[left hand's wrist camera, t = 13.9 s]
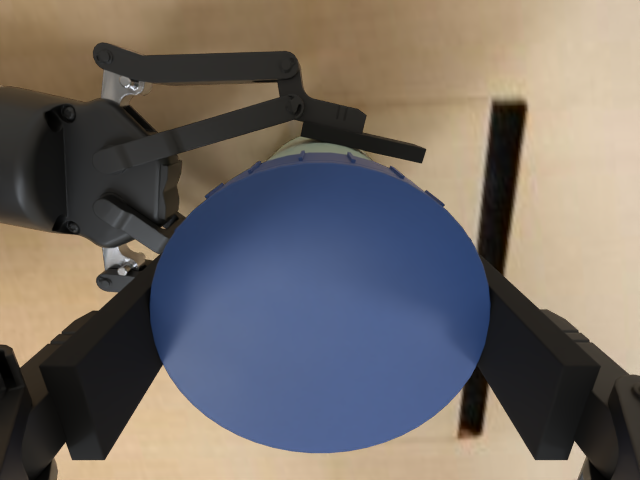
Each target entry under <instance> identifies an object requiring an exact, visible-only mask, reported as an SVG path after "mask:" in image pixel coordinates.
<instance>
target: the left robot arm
mask: <svg viewBox="0 0 640 480" xmlns="http://www.w3.org/2000/svg"><path fill="white" fill-rule="evenodd" d="M162 253H163V252H162ZM162 253H161V254H160V255H159V256H158V257H157V258H156V259H154V260H153V261H152V262H151V263H150V264H149V265H148V266H147V267H146V268H145V269H144V270H143V271H141V272H140V273H139V274H138V275H137V276H136V277H135V278H134V279H133V280H132V281H131V282H129V283H128V284H127V285H126V286H125V287H124V288H123V289H122V290H121V291H120V292H119V293H118V294H116V295H115V296H114V297H113V298H112V299H111V300H110V301H109V302H108V303H107V304H106V305H105V306H103V307H102V308H101V309H100V310H99V311H91V312H90V313H88V314H86V315H84V316H82V317H80V318H78V319H77V320H75V321H74V322H72V323H71V324H70V325H69V326H68V327H67V328H66V329H64V330H63V331H62V334H59V335H58V336H56V337H55V338H54V339H53V340H52V341H51V343H50V344H47V345H46V346H45V347H44V348H43V349H41V350H40V351H39V352H38V353H37V354H36V355H35V356H33V357H32V358H31V359H30V360H29V361H28V362H26V363H25V364H24V365H23V366H22V367H21V368H20V367H19V365H18V362H17V359H16V357H15V354H14V351H13V349H12V348H11V347H9V346H7V345H0V480H57V474H58V470H57V464H56V461H55V459H54V457H55V455H56V454H57V453H58V451H59V450H60V449H61V447H62V446H63V445H64V444H65V442H66V444H67V447H68V450H69V452H70V455H71V458H72V460H105V459H106V457H107V455H108V454H109V452H110V450H111V449H112V447H113V445H114V444H115V442H116V441H117V439H118V437H119V436H120V434H121V432H122V431H123V429H124V427H125V426H126V424H127V423H128V421H129V419H130V418H131V416H132V414H133V413H134V411H135V409H136V408H137V406H138V404H139V403H140V401H141V400H142V398H143V396H144V395H145V393H146V391H147V390H148V388H149V386H150V385H151V383H152V382H153V380H154V378H155V377H156V375H157V373H158V372H159V370H160V368H161V367H162V365H163V363H162V361H161V359H160V357H159V354H158V351H157V348H156V346H155V342H154V337H153V332H152V327H151V322H150V295H151V286H152V281H153V278H154V274H155V270H156V266H157V264H158V261H159V259H160V257H161V255H162ZM477 253H478V252H477ZM478 255H479V257H480V259H481V261H482V264H483V267H484V270H485V274H486V278H487V281H488V286H489V295H490V321H489V327H488V332H487V336H486V341H485V346H484V348H483V351H482V354H481V357H480V359H479V361H478V363H477V366H478V367H479V369H480V370H481V372H482V374H483V375H484V377H485V379H486V380H487V382H488V384H489V385H490V387H491V388H492V390H493V392H494V393H495V395H496V397H497V398H498V400H499V402H500V403H501V405H502V406H503V408H504V410H505V411H506V413H507V415H508V416H509V418H510V420H511V421H512V423H513V425H514V426H515V428H516V429H517V431H518V433H519V434H520V436H521V438H522V439H523V441H524V443H525V444H526V446H527V447H528V449H529V451H530V452H531V454H532V456H533V457H534V459H535V460H568V457H569V454H570V452H571V449H572V446H573V443H574V441H575V442H576V443H577V445H578V446H579V447H580V448H581V450H582V451H583V452H584V454H585V455H586V459H585V461H584V464H583V467H582V469H581V472H580V474H579V477H578V480H640V376H638V375H629V374H628V373H627V372H626V371H625V370H623V369H622V368H621V367H620V366H619V365H618V364H617V363H615V362H614V361H613V360H612V359H611V358H610V357H608V356H607V355H606V354H605V353H604V352H603V351H601V350H600V349H599V348H598V347H597V346H596V345H595V344H593V343H590V342H589V339H588V338H586V337H585V336H584V335H583V334H582V333H579V332H578V330H577V329H576V328H575V327H574V326H573V325H571V324H570V323H569V322H568V321H567V320H566V319H564V318H562V317H560V316H558V315H556V314H555V313H553V312H551V311H549V310H540V309H539V308H537V307H536V306H535V305H534V304H533V303H532V302H531V301H530V300H529V299H528V298H527V297H525V296H524V295H523V294H522V293H521V292H520V291H519V290H518V289H517V288H516V287H515V286H514V285H512V284H511V283H510V282H509V281H508V280H507V279H506V278H505V277H504V276H503V275H502V274H500V273H499V272H498V271H497V270H496V269H495V268H494V267H493V266H492V265H491V264H490V263H489V262H487V261H486V260H485V259H484V258H483V257H482V256H481V255H480V254H479V253H478Z"/></svg>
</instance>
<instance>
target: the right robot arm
mask: <svg viewBox="0 0 640 480" xmlns="http://www.w3.org/2000/svg"><path fill="white" fill-rule="evenodd" d="M93 58H94V60H95V62H96V64H97V65H98V66H99V67H100V68H102V69H104V73H103V83H102V93H101V98H99V99H95V100H92V101H89V102H82V101H77V100H73V99H68V98H64V97H59V96H54V95H50V94H45V93H41V92H36V91H32V90H27V89H23V88H18V87H5V86H3V85H0V223H4V224H9V225H14V226H19V227H25V228H30V229H35V230H40V231H46V232H51V233H60V234H74V235H80V236H82V237H85V238H87V239H89V240H90V241H92V242H93V243H95V244H96V245H98V246H100V247H102V250H103V258H104V266H105V271H104V272H103V273H101V274H100V275H99V276H98V277H97V278H96V283H97V285H98V286H99V288H100V289H102V290H104V291H109V292H120V291H121V290H122V289H123V288H124V287H125V286H126V285H127V284H128V283H129V282H131V281H132V280H133V279H134V278H135V277H136V276H137V275H138V274H139V273H140V272H141V271H143V270H144V269H145V268H146V267H147V266H148V265H149V264H150V263H151V262H152V260H146V259H145V255H144V254H143V253H141V252H139V253H136V252H133V251H131V250H130V249H129V248H128V246H127V244H126V243H128V242H130V241H132V240H135V239H136V240H137V241H139V242H140V243H142V244H143V245H145V246H146V247H148V248H149V249H151V250H152V251H154V252H156V253H158V254H161V253H162V252H163V250H164V248H165V246H166V244H167V243H168V241H169V240H170V238H171V237H172V235H173V234H174V232H175V231H174V230H175V229H176V228H177V227H178V226H179V225H180V224H181V223H182V222H183V221H184V220H185V219H186V217H184V216H183V215H181V214H180V213H179V212H177V211H178V209H179V195H178V190H177V183H178V180H179V178H180V175H181V167H182V161H181V160H178V156H177V154H179V153H182V152H185V151H189V150H192V149H195V148H199V147H202V146H206V145H209V144H213V143H216V142H219V141H223V140H226V139H230V138H233V137H237V136H240V135H243V134H247V133H250V132H254V131H257V130H260V129H264V128H267V127H271V126H274V125H278V124H281V123H284V122H288V121H291V120H298V121H302V122H303V127H302V132H301V137H305V138H309V139H314V140H318V141H323V142H327V143H332V144H337V145H341V146H345V147H350V148H354V149H359V150H363V151H368V152H372V153H377V154H381V155H386V156H391V157H395V158H400V159H404V160H409V161H413V162H418V163H422V161H423V158H424V155H425V152H426V149H425V148H422V147H420V146H417V145H414V144H411V143H407V142H402V141H398V140H393V139H389V138H384V137H380V136H375V135H371V134H367V133H362V132H363V128H364V124H365V120H366V115H365V114H364V113H363V112H361V111H360V110H359V109H356V108H351V107H347V106H343V105H338V104H334V103H330V102H325V101H321V100H317V99H313V98H310V97H309V96H308V95H307V94H306V93H305V91H304V88H303V82H302V75H301V67H300V64H299V62H298V60H297V58H296V57H295V55H294V54H292V53H291V52H287V51H275V52H243V53H211V54H179V55H147V56H146V55H143V54H140V53H137V52H134V51H131V50H128V49H125V48H122V47H118V46H115V45H112V44H108V43H99V44H97V45H96V46H95V47H94V50H93ZM153 83H155V84H162V85H173V86H180V85H213V84H246V83H278V88H279V94H280V97H279V98H276V99H272V100H269V101H266V102H262V103H259V104H256V105H252V106H249V107H246V108H242V109H239V110H236V111H232V112H229V113H226V114H222V115H219V116H216V117H212V118H209V119H206V120H202V121H199V122H195V123H192V124H189V125H185V126H182V127H179V128H175V129H172V130H167V131H164V132H160V133H158V132H157V131H156V130H155V129H154V128H153V127H152V126H151V125H150V124H149V123H148V122H147V121H146V120H145V119H144V118H143V117H142V116H141V115H140V114H139V113H138V112H136V111H135V110H134V109H133V108H132V107H131V106H130V105H129V102H130V100H131V98H132V97H134V96H136V95H147V94H149V93H150V91H151V89H152V85H153ZM162 226H163V227H164V228H166V229H162V228H160V227H162Z"/></svg>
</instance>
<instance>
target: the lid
mask: <svg viewBox="0 0 640 480" xmlns="http://www.w3.org/2000/svg"><path fill="white" fill-rule="evenodd" d="M205 198H206V200H205V201H204V202H203V203H201V204H200V205H199V206H198V207H197V208H195V209H194V210H193V211H192V212H191V213H190V214H189V215H188V216H187V218H186V219H185V220H184V221H183V222H182V223H181V224H180V225H179V226H178V227H177V228H176V229H175V230H174V231H175V232H174V234H173V235H172V237H171V238H170V240H169V241H168V243H167V244H166V246H165V248H164V250H163V253H162V255H161V257H160V259H159V261H158V264H157V266H156V270H155V274H154V278H153V281H152V286H151V295H150V322H151V327H152V332H153V337H154V342H155V346H156V348H157V351H158V354H159V357H160V359H161V361H162V363H163V365H164V367H165V369H166V371H167V373H168V374H169V376H170V378H171V379H172V380H173V382H174V383H175V385H176V386H177V387H178V389H179V390H180V391H181V393H182V394H183V395H184V396H185V397H186V398H187V399H188V400H189V401H190V402H191V403H192V404H193V405H194V406H195V407H196V408H197V409H198V410H200V411H201V412H202V413H203V414H204V415H205V416H207V417H208V418H210V419H211V420H213V421H214V422H216V423H217V424H219V425H220V426H221V427H223V428H225V429H227V430H229V431H231V432H233V433H235V434H236V435H238V436H241V437H243V438H246V439H248V440H251V441H253V442H256V443H259V444H262V445H266V446H269V447H273V448H278V449H283V450H288V451H295V452H305V453H335V452H345V451H352V450H357V449H362V448H367V447H371V446H374V445H378V444H381V443H384V442H387V441H389V440H392V439H394V438H397V437H399V436H402V435H404V434H405V433H407V432H409V431H411V430H413V429H415V428H417V427H419V426H420V425H422V424H423V423H424V422H426V421H427V420H429V419H430V418H432V417H433V416H435V415H436V414H437V413H438V412H439V411H440V410H442V409H443V408H444V407H445V406H446V405H447V404H448V403H449V402H450V401H451V400H452V399H453V398H454V397H455V396H456V395H457V394H458V393H459V391H460V390H461V389H462V387H463V386H464V385H465V383H466V382H467V380H468V379H469V378H470V376H471V374H472V373H473V371H474V369H475V367H476V365H477V363H478V361H479V359H480V357H481V354H482V351H483V348H484V346H485V341H486V336H487V332H488V327H489V321H490V295H489V286H488V281H487V278H486V274H485V270H484V267H483V264H482V261H481V259H480V257H479V255H478V253H477V250H476V248H475V246H474V244H473V243H472V240H471V239H470V238H469V237H468V235H467V234H466V232H465V231H464V229H463V228H462V226H461V225H460V224H459V223H458V222H457V221H456V220H455V219H454V218H453V216H452V215H451V214H450V213H449V212H448V211H447V210H446V209H445V208H443V206H445V205H444V204H443V203H442V202H441V201H440V200H438V199H437V198H436V197H435V196H433V195H432V194H431V193H429V192H428V191H427V190H426V191H425V192H424V191H423V190H421V189H420V188H419V187H418V186H417V185H415V184H414V183H413V182H412V181H410V180H409V179H407V178H406V177H405V176H404V175H403V174H401V173H400V172H399V171H398V170H396V169H395V168H394V167H392V166H390V168H388V167H386V166H383V165H381V164H379V163H376V162H374V161H371V160H367V159H364V158H360V157H356V156H353V155H352V154H351V152H347V155H346V154H338V153H331V152H309V153H305V150H303V151H301V153H300V154H294V155H287V156H284V157H280V158H276V159H273V160H269V161H266V162H264V163H261V161H259V162H257V163H256V164H255V165H253V166H252V167H251V168H250V169H248V170H246V171H244V172H243V173H241V174H239V175H238V176H236V177H234V178H233V179H231V180H230V181H228V182H227V183H226V184H225V185H224V184H223V183H221V184H220V185H219V186H217V187H216V188H215V189H213V190H212V191H211V192H209V193H208V194H207V195H206V196H205Z"/></svg>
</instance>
